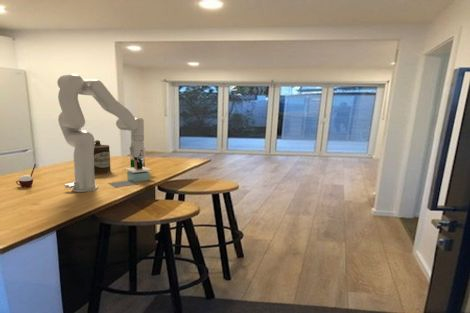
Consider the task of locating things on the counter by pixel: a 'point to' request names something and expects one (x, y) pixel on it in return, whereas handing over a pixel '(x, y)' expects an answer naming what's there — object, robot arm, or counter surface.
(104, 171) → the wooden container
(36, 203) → the counter surface
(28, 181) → the cocoa
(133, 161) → the milk carton
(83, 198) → the counter surface
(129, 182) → the mat
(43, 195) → the counter surface
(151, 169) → the lid
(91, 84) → the robot arm
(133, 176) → the dish
